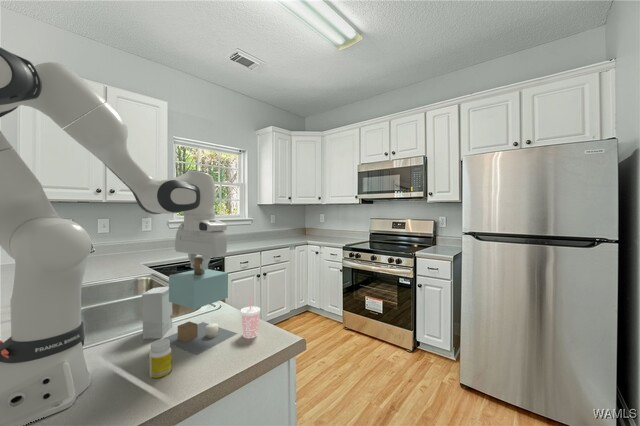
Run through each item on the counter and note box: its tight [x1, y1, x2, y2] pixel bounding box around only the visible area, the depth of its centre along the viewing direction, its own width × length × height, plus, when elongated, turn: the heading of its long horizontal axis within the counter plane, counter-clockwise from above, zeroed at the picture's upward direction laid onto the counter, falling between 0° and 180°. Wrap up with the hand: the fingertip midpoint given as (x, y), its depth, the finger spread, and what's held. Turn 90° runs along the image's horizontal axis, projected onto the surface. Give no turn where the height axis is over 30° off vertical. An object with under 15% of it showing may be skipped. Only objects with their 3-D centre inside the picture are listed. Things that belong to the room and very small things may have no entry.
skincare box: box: [141, 286, 173, 340], centre depth 89 cm, size 8×6×15 cm
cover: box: [168, 256, 229, 310], centre depth 86 cm, size 12×12×13 cm
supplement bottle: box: [148, 338, 173, 379], centre depth 68 cm, size 5×5×8 cm
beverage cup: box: [240, 293, 261, 339], centre depth 88 cm, size 6×6×14 cm
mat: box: [162, 321, 239, 356], centre depth 87 cm, size 15×17×5 cm
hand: (199, 268), depth 86 cm, fingers closed on cover, 3 cm apart
